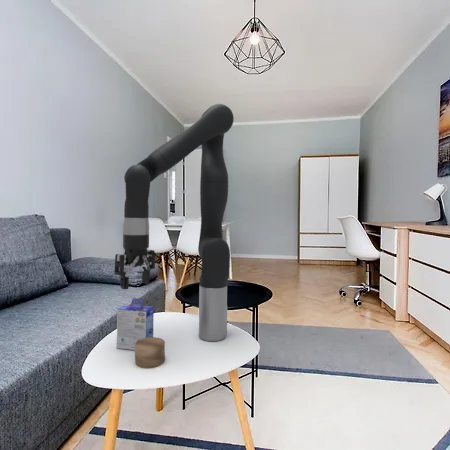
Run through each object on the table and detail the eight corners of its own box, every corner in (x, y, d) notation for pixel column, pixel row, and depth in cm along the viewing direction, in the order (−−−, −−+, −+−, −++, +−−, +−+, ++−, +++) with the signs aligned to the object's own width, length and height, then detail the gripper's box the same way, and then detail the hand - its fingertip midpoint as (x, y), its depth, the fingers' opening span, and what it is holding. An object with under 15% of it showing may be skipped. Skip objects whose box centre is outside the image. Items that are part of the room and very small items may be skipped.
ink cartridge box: (154, 344, 98) (154, 298, 97) (146, 352, 93) (146, 304, 92) (125, 341, 100) (125, 296, 99) (116, 348, 94) (116, 301, 94)
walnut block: (149, 351, 93) (149, 335, 93) (170, 358, 89) (170, 341, 89) (128, 363, 86) (128, 345, 86) (151, 371, 82) (151, 352, 82)
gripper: (127, 235, 86) (126, 293, 87) (161, 232, 99) (160, 283, 100) (108, 233, 90) (108, 289, 91) (143, 230, 102) (143, 280, 103)
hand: (135, 286), depth 95 cm, fingers open, 8 cm apart
